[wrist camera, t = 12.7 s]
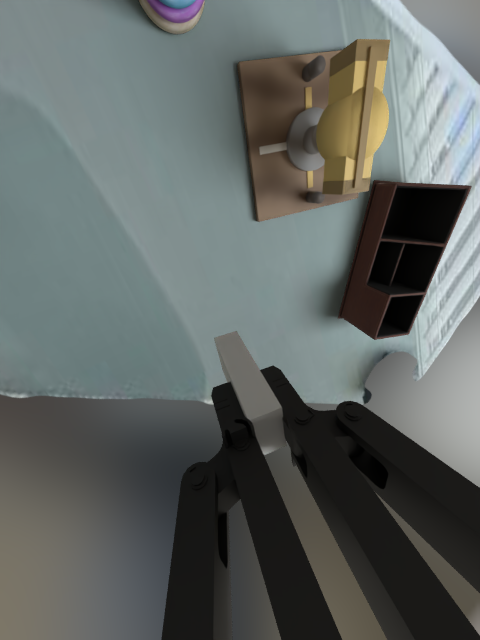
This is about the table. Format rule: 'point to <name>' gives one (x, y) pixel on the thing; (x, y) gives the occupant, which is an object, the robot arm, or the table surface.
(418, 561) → the robot arm
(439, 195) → the desk organizer
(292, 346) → the table surface
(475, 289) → the table surface
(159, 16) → the stacking toy
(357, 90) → the yellow block with ball
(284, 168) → the base
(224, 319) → the table surface
